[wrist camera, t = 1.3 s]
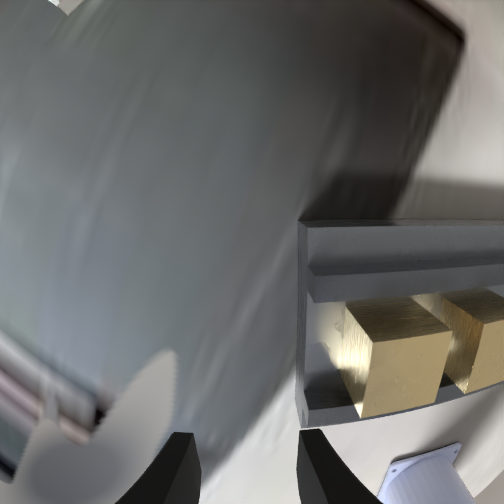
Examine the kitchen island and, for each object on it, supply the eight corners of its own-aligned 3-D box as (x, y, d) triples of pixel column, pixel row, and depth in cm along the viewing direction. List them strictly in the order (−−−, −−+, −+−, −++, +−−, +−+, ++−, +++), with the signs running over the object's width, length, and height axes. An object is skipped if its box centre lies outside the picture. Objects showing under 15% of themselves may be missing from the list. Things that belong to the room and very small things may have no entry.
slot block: (510, 357, 20) (542, 382, 16) (295, 399, 20) (305, 448, 16) (535, 221, 18) (577, 231, 13) (297, 220, 18) (315, 234, 13)
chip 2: (478, 348, 17) (513, 377, 13) (431, 358, 17) (464, 393, 13) (490, 290, 16) (531, 312, 12) (443, 297, 16) (484, 324, 12)
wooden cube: (403, 363, 17) (434, 402, 13) (339, 373, 17) (360, 418, 13) (414, 300, 16) (452, 330, 12) (345, 306, 16) (372, 342, 12)
